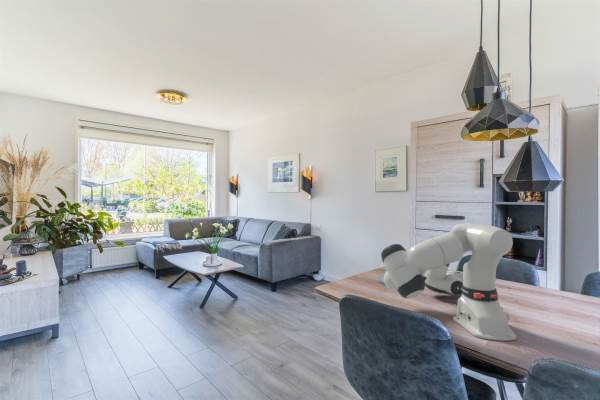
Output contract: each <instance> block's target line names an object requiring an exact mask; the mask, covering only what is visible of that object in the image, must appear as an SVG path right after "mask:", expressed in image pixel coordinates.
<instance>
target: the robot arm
mask: <svg viewBox="0 0 600 400" xmlns="http://www.w3.org/2000/svg"><path fill="white" fill-rule="evenodd" d="M513 244H514V241H513V237H512V234H510V232H509V231H507V230H506V229H504V228H501V227H499V226H495V225H489V224H481V223H475V222H474V223H473V222H463V223H457V224H456V225H454V226H453V227H452V228H451V230H450V231H447V233H444V234H440V235H438V236H437V235H436V236H434V237H432V238H428V239H426V240H423V241H421V242H418V243H416V244H414V245H413V246H411V247H410V248H408V250H407V249H406V248H405V247H404V246H403V245H402V244H399V243H393V244H390V245H388V246H386V247H385V248H384V249H383V250H382V251H381V253H380V257H381V261H382V263H383V264H384V266H385V269H386V271H385V272H384V274H385V275H384V283H385V285H384V286H386V287H387V288H388V289H389V290H390V291H393V292H397V293H398V294H399V295H400V296H401V298H405V299H412V298H416V297H418V296H419V295H421V294H422V293H423V292H424V290H425V287H426V288H427V289H428V290H429V291H432V292H435V293H441V294H442V293H445V292H447V293H449V294H451V295H453V296H460V295H461V296H460V297H459V298H458V299H457V308H456V315H455V316H453V318H452V320H453V322H455V323H457V324H458V325H460V327H462V328H463V329H465V330H466V331H467V332H469V333H470V334H471V335H473V336H474V337H477V338H480V339H484V340H490V341H492V340H493V341H515V340H517V339H518V338H517V335H516V334H515V332H514V331H513V330H512V329H511V327H510V326H509V321H510V318H511V317H510V314H509V313H506V312H505V311H504V307H503V306H501V304H500V302H499V294H498V291H497V287H496V280H497V279H496V276H497V267H498V265H499V263H500V261H501V259H502V258H503V256H506V255H507V254H508V253H509V252H510V251H511V250H512V248H513ZM469 252H471V257H470V259H469V260H468V261H467V262H465V263H464V264H463V266H462V271H459V270H449V267H450V264H452V263H456V262H459V261H460V260H462V259H463V257H464V254H465V253H469Z"/></svg>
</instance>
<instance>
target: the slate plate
mask: <svg viewBox="0 0 600 400" xmlns="http://www.w3.org/2000/svg"><path fill="white" fill-rule="evenodd" d="M384 275H385V273H382V274H380V275H378V276H377V279H378V280H377V281H378V283H379V284H381V285H383V286H386V285H385V283H384Z"/></svg>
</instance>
